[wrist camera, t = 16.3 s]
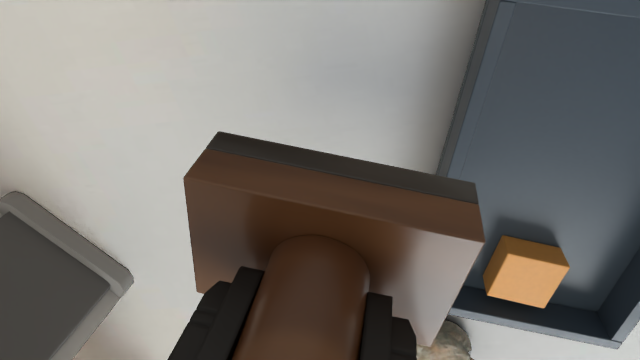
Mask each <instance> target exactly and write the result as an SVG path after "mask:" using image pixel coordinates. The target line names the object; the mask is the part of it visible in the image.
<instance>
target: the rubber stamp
mask: <svg viewBox="0 0 640 360" xmlns="http://www.w3.org/2000/svg"><path fill="white" fill-rule="evenodd" d="M184 187H185V196H186V204H187V213H188V221H189V230H190V238H191V247H192V255H193V263H194V272H195V280H196V289H197V292H199V293H203V294H205V292H206V291H207V290H209V289H210V288H211V287H212V286H213V285H215V284H216V283H217V282H218V281H225V282H230V283H232V282H233V280H234V278H235V276H236V274H237V272H238V270H239V268H240V267H241V266H244V267H249V268H254V269H259V270H264V271H265V272H264V275H263V277H262V280H261V283H260V285H259V288H258V290H257V293H256V296H255V298H254V301H253V304H252V306H251V309H250V311H249V314H248V317H247V319H246V322H245V325H244V327H243V330H242V332H241V335H240V338H239V340H238V343H237V346H236V348H235V351H234V354H233V356H232V359H231V360H359V359H360V350H361V342H362V334H363V326H364V317H365V309H366V301H367V293H368V292H372V293H377V294H382V295H387V296H392V297H393V306H392V316H394V317H399V318H404V319H409V322H410V324H411V326H412V328H413V330H414V332H415V335H416V340H417V344H420V345H424V346H429V347H431V346H432V344H433V342H434V340H435V338H436V336H437V334H438V332H439V331H440V329H441V327H442V325H443V323H444V321H445V319H446V317H447V315H448V313H449V311H450V309H451V307H452V306H453V304H454V302H455V300H456V298H457V296H458V294H459V292H460V290H461V288H462V286H463V284H464V282H465V280H466V279H467V277H468V275H469V273H470V271H471V269H472V267H473V265H474V263H475V261H476V259H477V257H478V255H479V254H480V252H481V250H482V248H483V246H484V244H485V236H484V230H483V225H482V219H481V213H480V208H479V201H478V196H477V190H476V184H475V183H473V182H468V181H463V180H458V179H453V178H448V177H443V176H439V175H434V174H429V173H424V172H419V171H414V170H409V169H404V168H399V167H394V166H389V165H384V164H379V163H374V162H369V161H364V160H359V159H354V158H349V157H344V156H339V155H334V154H329V153H324V152H319V151H314V150H309V149H304V148H299V147H295V146H290V145H285V144H280V143H275V142H270V141H265V140H260V139H255V138H250V137H245V136H240V135H235V134H230V133H225V132H220V131H219V132H217V134H216V135H215V136H214V138H213V139H212V140H211V142H210V143H209V144H208V146H207V147H206V149H205V150H204V151H203V152H202V154H201V155H200V156H199V158H198V159H197V160H196V162H195V163H194V164H193V166H192V167H191V168H190V170H189V171H188V172H187V174H186V175H185V176H184Z"/></svg>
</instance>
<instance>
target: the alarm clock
mask: <svg viewBox="0 0 640 360" xmlns="http://www.w3.org/2000/svg"><path fill="white" fill-rule="evenodd" d="M132 284H133V277H132V275H131V273H130V272H129V271H128V270H127V269H126V268H124V267H123V266H122V265H120V264H119V263H117V262H116V261H115V260H113V259H112V258H111V257H109V256H108V255H106V254H105V253H104V252H102V251H101V250H100V249H98V248H97V247H96V246H94V245H93V244H91V243H90V242H89V241H87V240H86V239H85V238H83V237H82V236H80V235H79V234H78V233H76V232H75V231H74V230H72V229H71V228H70V227H68V226H67V225H65V224H64V223H63V222H61V221H60V220H59V219H57V218H56V217H54V216H53V215H52V214H50V213H49V212H48V211H46V210H45V209H43V208H42V207H41V206H39V205H38V204H37V203H35V202H34V201H33V200H31V199H30V198H28V197H27V196H26V195H24V194H21V193H18V192H12V193H9V194H7V195H6V196H4V197H3V198H1V199H0V360H72V359H73V358H74V357H75V355H76V354H77V353H78V351H79V350H80V349H81V348H82V346H83V345H84V344H85V343H86V341H87V340H88V339H89V337H90V336H91V335H92V334H93V332H94V331H95V330H96V328H97V327H98V326H99V325H100V323H101V322H102V321H103V320H104V318H105V317H106V316H107V314H108V313H109V312H110V311H111V309H112V308H113V307H114V305H115V304H116V303H117V302H118V300H119V299H120V298H121V297H122V296H123V295H124V294H125V293H126V291H127V290H128V289H129V287H130V286H131V285H132Z"/></svg>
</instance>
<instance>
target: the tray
mask: <svg viewBox="0 0 640 360" xmlns="http://www.w3.org/2000/svg"><path fill="white" fill-rule="evenodd" d="M436 175H439V176H443V177H448V178H453V179H458V180H463V181H468V182H473V183H475V184H476V190H477V196H478V201H479V208H480V213H481V219H482V225H483V230H484V236H485V244H484V246H483V248H482V250H481V252H480V254H479V255H478V257H477V259H476V261H475V263H474V265H473V267H472V269H471V271H470V273H469V275H468V277H467V279H466V280H465V282H464V284H463V286H462V288H461V290H460V292H459V294H458V296H457V298H456V300H455V302H454V304H453V306H452V307H451V309H450V311H449V313H448V314H449V315H454V316H459V317H463V318H468V319H473V320H478V321H483V322H487V323H492V324H497V325H502V326H507V327H512V328H516V329H521V330H526V331H531V332H536V333H540V334H545V335H550V336H555V337H560V338H565V339H569V340H574V341H579V342H584V343H589V344H593V345H598V346H603V347H608V348H613V349H618V348H619V346H620V345H621V344H622V342H624V340H625V339H626V338H627V336H628V335H629V334H630V332H631V331H632V330H633V328H634V327H635V326H636V324H637V323H638V322H639V320H640V0H486V3H485V6H484V10H483V13H482V17H481V20H480V24H479V27H478V31H477V34H476V38H475V41H474V45H473V48H472V51H471V55H470V58H469V62H468V65H467V69H466V72H465V76H464V79H463V83H462V86H461V90H460V93H459V97H458V100H457V104H456V107H455V111H454V114H453V117H452V121H451V124H450V128H449V131H448V135H447V138H446V142H445V145H444V149H443V152H442V156H441V159H440V163H439V166H438V170H437V173H436ZM502 235H505V236H509V237H514V238H518V239H523V240H527V241H532V242H536V243H541V244H545V245H550V246H554V247H559V248H561V250H562V252H563V254H564V256H565V258H566V260H567V262H568V264H569V266H570V268H569V270H568V272H567V273H566V275H565V276H564V278H563V279H562V281H561V283H560V284H559V286H558V287H557V289H556V291H555V292H554V294H553V295H552V297H551V298H550V300H549V302H548V303H547V305H546V306H545V308H539V307H535V306H531V305H526V304H522V303H518V302H513V301H509V300H505V299H501V298H496V297H492V296H488V295H487V294H486V289H485V285H484V280H483V274H484V272H485V270H486V268H487V266H488V264H489V262H490V260H491V258H492V255H493V253H494V251H495V249H496V247H497V245H498V243H499V241H500V239H501V237H502Z"/></svg>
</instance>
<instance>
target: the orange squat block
mask: <svg viewBox="0 0 640 360" xmlns="http://www.w3.org/2000/svg"><path fill="white" fill-rule="evenodd" d="M569 268H570V266H569V264H568V262H567V260H566V258H565V256H564V254H563V252H562V250H561V248H559V247H554V246H550V245H545V244H541V243H536V242H532V241H527V240H523V239H518V238H514V237H509V236H505V235H502V237H501V239H500V241H499V243H498V245H497V247H496V249H495V251H494V253H493V255H492V258H491V260H490V262H489V264H488V266H487V268H486V270H485V272H484V274H483V280H484V285H485V289H486V294H487V295H488V296H492V297H496V298H501V299H505V300H509V301H513V302H518V303H522V304H526V305H531V306H535V307H539V308H545V306H546V305H547V303H548V302H549V300H550V298H551V297H552V295H553V294H554V292H555V291H556V289H557V287H558V286H559V284H560V283H561V281H562V279H563V278H564V276H565V275H566V273H567V272H568V270H569Z"/></svg>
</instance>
